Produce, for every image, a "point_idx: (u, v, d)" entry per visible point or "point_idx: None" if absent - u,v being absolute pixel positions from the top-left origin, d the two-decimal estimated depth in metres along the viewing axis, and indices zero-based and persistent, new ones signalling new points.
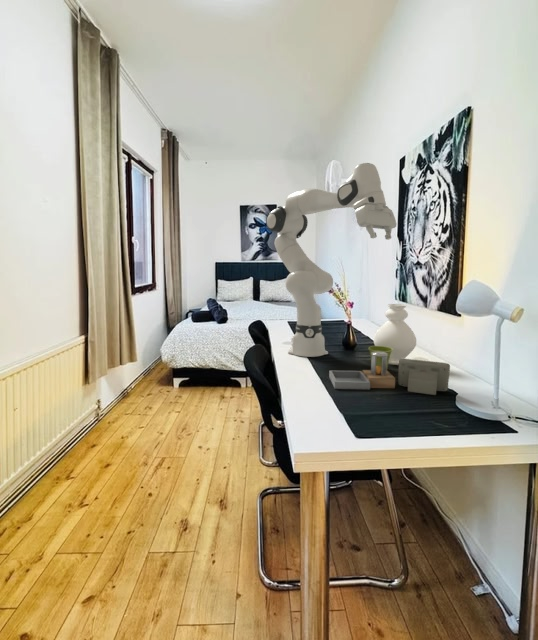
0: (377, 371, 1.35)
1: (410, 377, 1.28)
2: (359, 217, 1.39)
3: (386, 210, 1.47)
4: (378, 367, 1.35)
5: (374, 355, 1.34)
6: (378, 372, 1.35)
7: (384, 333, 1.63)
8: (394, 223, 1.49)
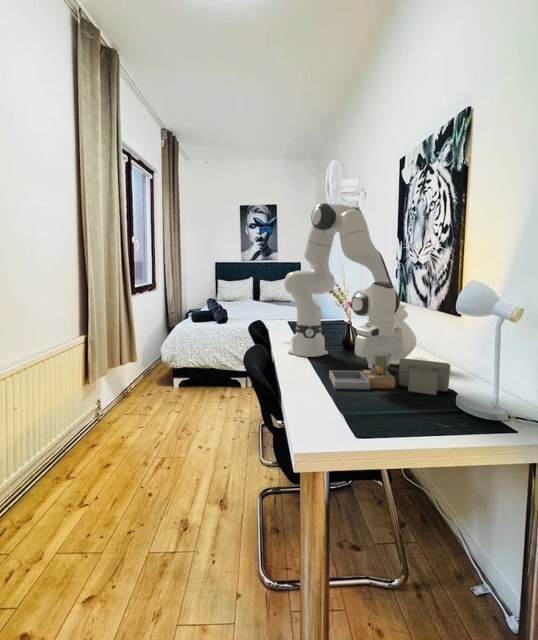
0: (377, 371, 1.35)
1: (410, 377, 1.28)
2: (357, 347, 1.31)
3: (394, 336, 1.35)
4: (378, 367, 1.35)
5: None
6: (378, 372, 1.35)
7: None
8: (400, 349, 1.37)
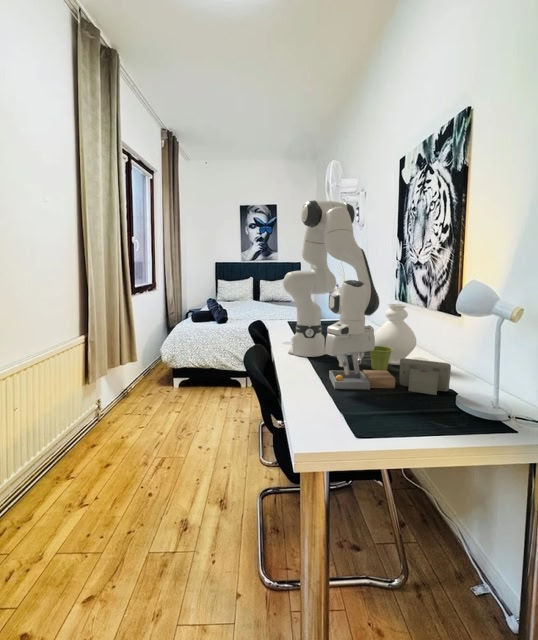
0: None
1: (411, 377, 1.29)
2: (327, 346, 1.31)
3: (365, 334, 1.35)
4: None
5: (344, 355, 1.34)
6: (342, 380, 1.34)
7: (384, 333, 1.63)
8: (371, 347, 1.38)
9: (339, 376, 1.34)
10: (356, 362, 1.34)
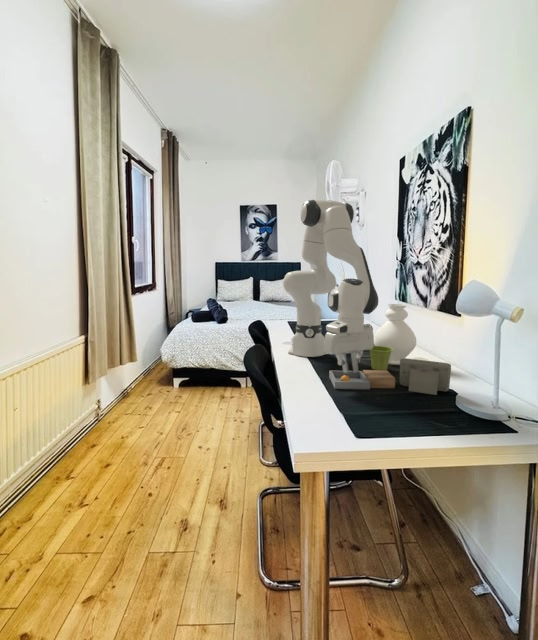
0: None
1: (411, 377, 1.29)
2: (326, 344, 1.31)
3: (364, 333, 1.35)
4: (341, 380, 1.35)
5: (342, 353, 1.34)
6: None
7: (384, 333, 1.63)
8: (370, 346, 1.38)
9: (348, 379, 1.34)
10: (355, 360, 1.34)
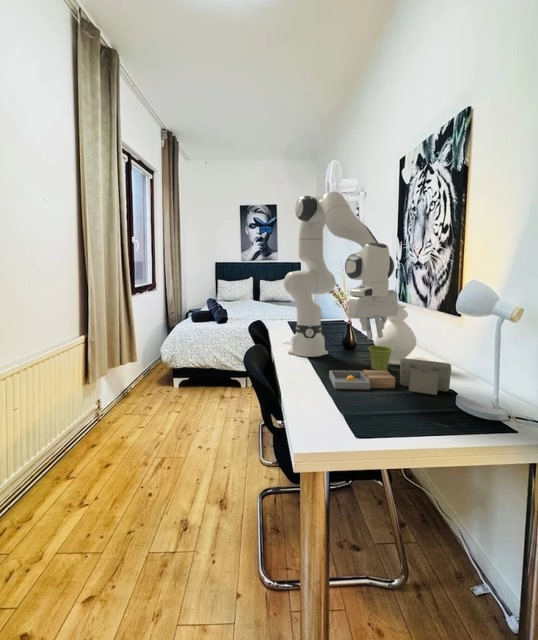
0: (346, 380, 1.35)
1: (411, 377, 1.29)
2: (350, 308, 1.28)
3: (388, 298, 1.33)
4: (349, 376, 1.34)
5: (367, 318, 1.31)
6: None
7: (384, 333, 1.63)
8: (394, 312, 1.35)
9: None
10: (379, 326, 1.31)
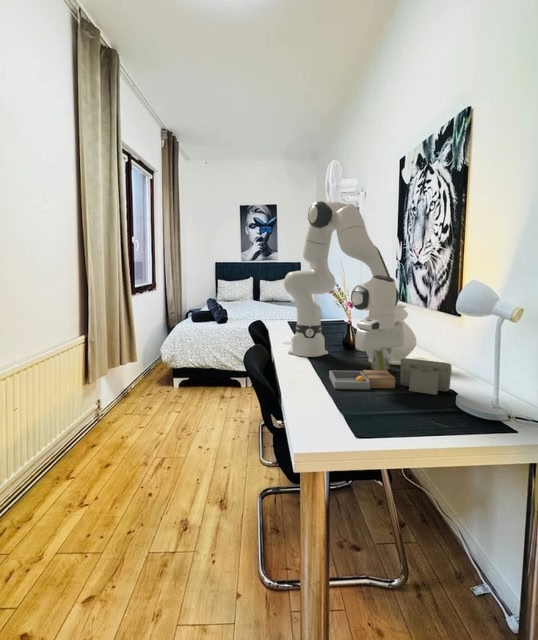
0: (362, 377, 1.34)
1: (411, 377, 1.29)
2: (357, 341, 1.30)
3: (394, 330, 1.35)
4: (364, 381, 1.34)
5: None
6: (361, 377, 1.34)
7: None
8: (400, 343, 1.37)
9: (357, 380, 1.34)
10: (386, 358, 1.33)
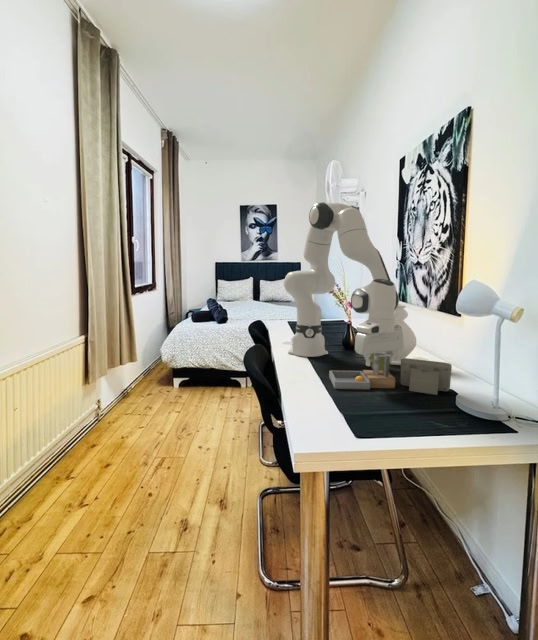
0: (360, 377, 1.34)
1: (411, 377, 1.29)
2: (357, 344, 1.30)
3: (394, 333, 1.35)
4: (363, 380, 1.34)
5: (377, 355, 1.33)
6: (359, 377, 1.34)
7: None
8: (400, 347, 1.37)
9: (356, 381, 1.34)
10: (388, 365, 1.33)
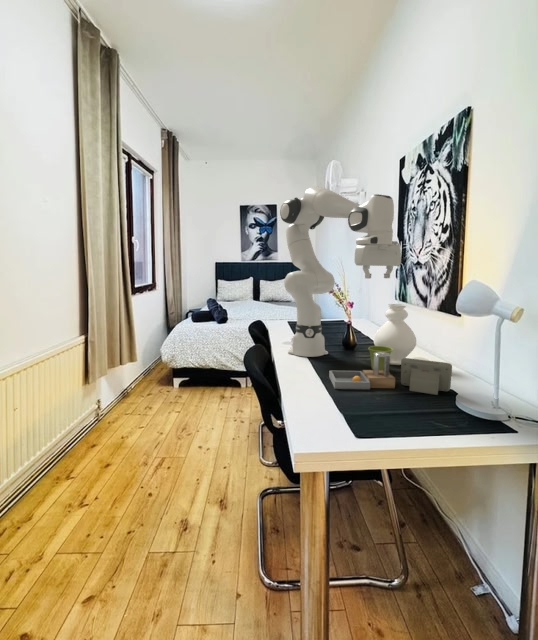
0: (356, 377, 1.34)
1: (412, 376, 1.29)
2: (357, 256, 1.36)
3: (392, 248, 1.40)
4: (360, 378, 1.34)
5: (377, 356, 1.33)
6: (355, 378, 1.34)
7: (384, 333, 1.63)
8: (398, 262, 1.43)
9: None
10: (388, 365, 1.33)
